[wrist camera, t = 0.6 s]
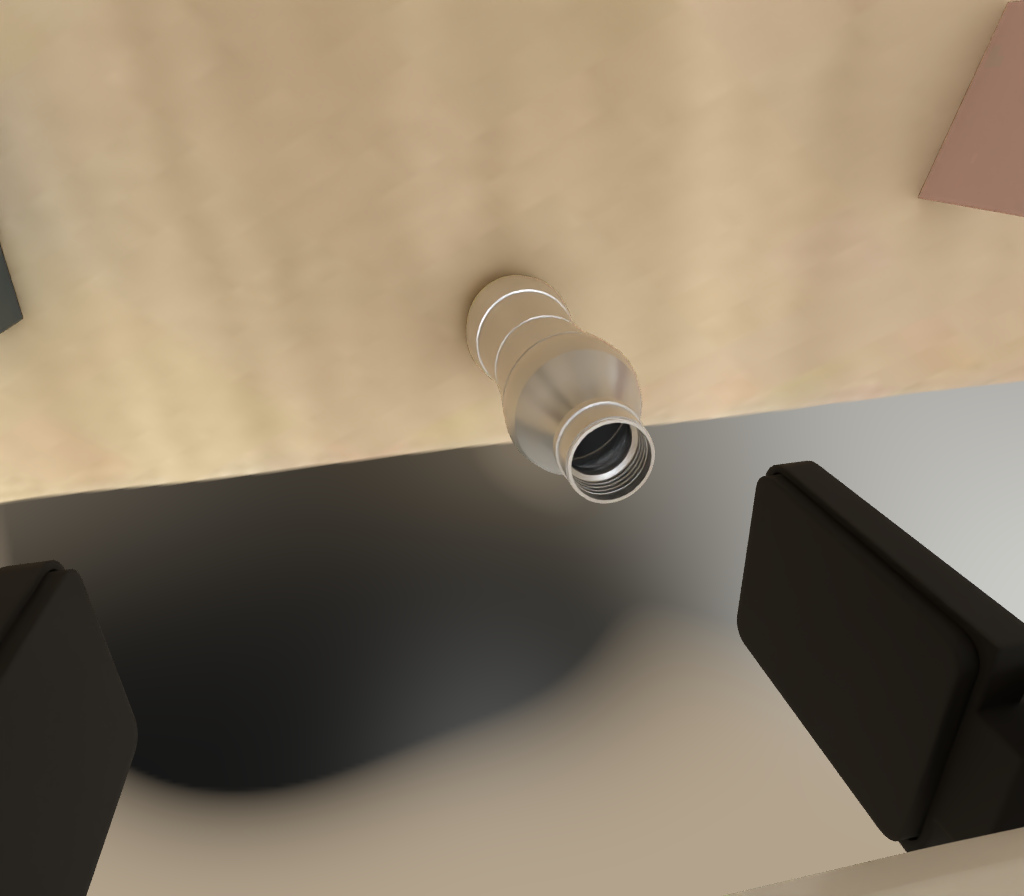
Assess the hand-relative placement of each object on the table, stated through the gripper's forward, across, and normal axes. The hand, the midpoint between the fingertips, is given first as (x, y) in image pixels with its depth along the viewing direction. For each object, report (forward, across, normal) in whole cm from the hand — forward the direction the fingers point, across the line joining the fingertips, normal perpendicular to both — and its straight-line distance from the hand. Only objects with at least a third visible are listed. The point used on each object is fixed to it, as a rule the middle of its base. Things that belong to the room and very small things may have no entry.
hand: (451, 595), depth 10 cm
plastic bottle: (+35, -8, +6) cm, 36 cm away
